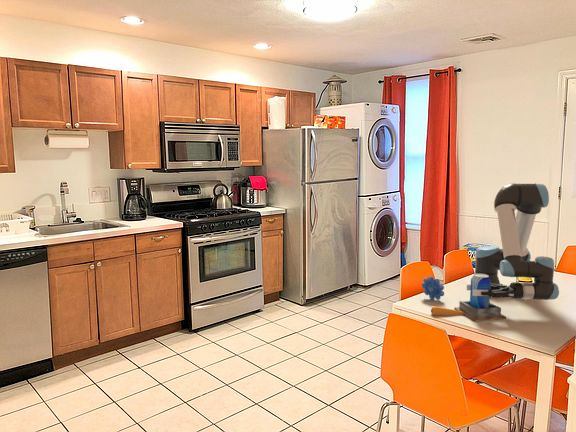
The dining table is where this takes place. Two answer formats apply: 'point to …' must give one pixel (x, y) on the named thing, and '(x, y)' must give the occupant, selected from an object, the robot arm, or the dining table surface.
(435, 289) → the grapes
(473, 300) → the beer can
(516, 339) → the dining table surface
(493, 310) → the holder
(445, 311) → the carrot
